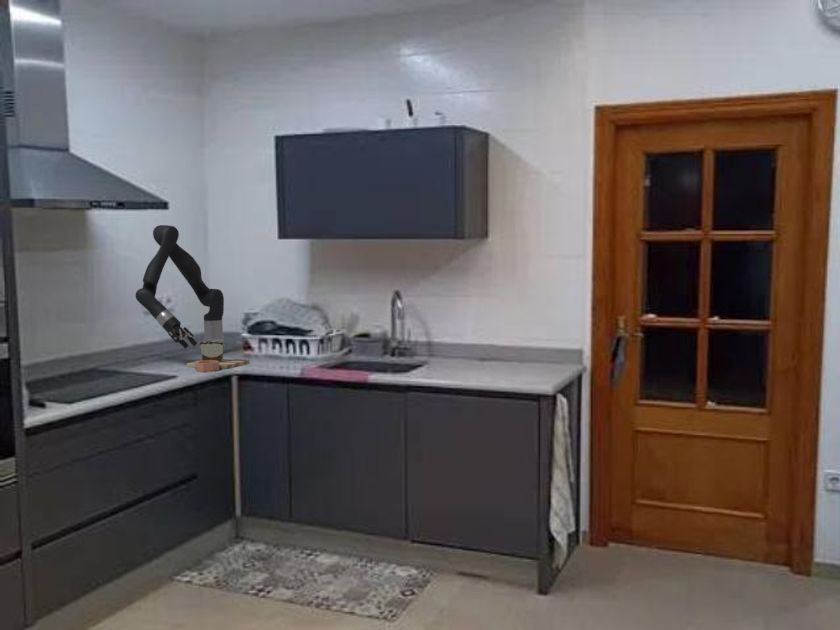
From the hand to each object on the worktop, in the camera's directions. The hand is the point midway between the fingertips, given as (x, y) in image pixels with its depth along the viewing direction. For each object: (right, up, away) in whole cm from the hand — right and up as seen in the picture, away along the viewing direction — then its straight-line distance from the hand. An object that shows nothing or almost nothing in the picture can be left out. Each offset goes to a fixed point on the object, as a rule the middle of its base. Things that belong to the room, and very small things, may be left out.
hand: (191, 345), depth 384 cm
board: (+13, -9, -2) cm, 16 cm away
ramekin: (+12, -10, -18) cm, 24 cm away
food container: (+11, -7, -1) cm, 13 cm away
